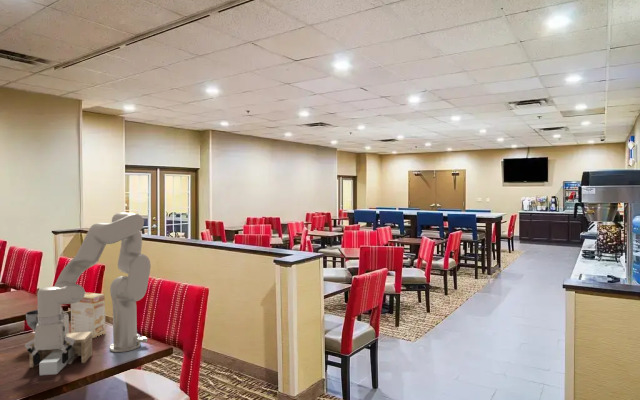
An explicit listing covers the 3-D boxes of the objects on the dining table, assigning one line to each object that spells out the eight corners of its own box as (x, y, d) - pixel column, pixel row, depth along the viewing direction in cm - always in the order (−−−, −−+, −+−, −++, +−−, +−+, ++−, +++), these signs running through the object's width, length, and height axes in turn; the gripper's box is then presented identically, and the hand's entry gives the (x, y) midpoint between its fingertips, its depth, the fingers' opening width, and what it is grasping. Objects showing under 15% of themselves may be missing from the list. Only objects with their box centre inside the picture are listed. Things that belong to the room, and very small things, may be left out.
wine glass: (44, 346, 186) (43, 313, 186) (24, 348, 184) (23, 315, 183) (50, 340, 194) (49, 308, 193) (30, 342, 191) (29, 310, 191)
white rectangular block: (73, 357, 175) (73, 346, 174) (56, 374, 159) (56, 361, 159) (58, 358, 174) (57, 347, 173) (39, 376, 158) (39, 363, 158)
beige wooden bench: (92, 353, 178) (91, 331, 177) (84, 362, 169) (84, 339, 168) (40, 358, 174) (39, 335, 173) (29, 367, 165) (29, 343, 164)
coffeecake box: (106, 333, 202) (105, 293, 202) (93, 338, 196) (92, 297, 195) (83, 329, 208) (82, 291, 207) (70, 334, 201) (69, 294, 201)
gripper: (78, 315, 166) (79, 357, 166) (29, 318, 162) (30, 361, 163) (70, 321, 158) (71, 365, 159) (19, 324, 155) (21, 369, 155)
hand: (51, 363), depth 161 cm, fingers open, 9 cm apart
